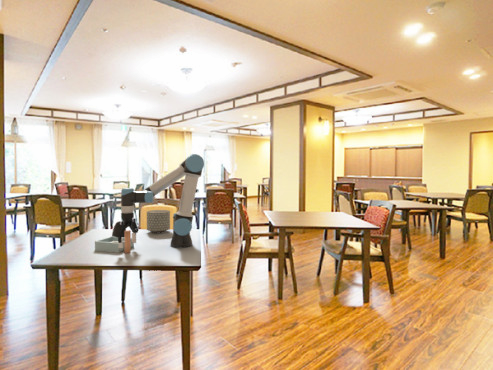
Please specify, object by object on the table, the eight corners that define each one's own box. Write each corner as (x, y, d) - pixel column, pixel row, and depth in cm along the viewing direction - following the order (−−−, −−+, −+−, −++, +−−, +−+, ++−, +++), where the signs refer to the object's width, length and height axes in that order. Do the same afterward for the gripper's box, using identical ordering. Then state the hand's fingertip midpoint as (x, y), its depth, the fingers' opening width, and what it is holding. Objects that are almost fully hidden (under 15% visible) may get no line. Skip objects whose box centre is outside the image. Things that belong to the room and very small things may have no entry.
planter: (164, 229, 272) (164, 209, 271) (173, 233, 257) (173, 211, 257) (143, 231, 260) (143, 210, 259) (152, 235, 245) (152, 213, 245)
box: (133, 246, 210) (133, 238, 210) (118, 252, 195) (118, 243, 194) (111, 244, 214) (111, 236, 214) (94, 250, 199) (94, 241, 199)
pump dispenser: (121, 244, 217) (121, 222, 216) (108, 243, 219) (108, 222, 218) (130, 240, 227) (130, 220, 226) (117, 240, 229) (117, 219, 228)
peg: (131, 252, 197) (131, 230, 196) (128, 253, 193) (128, 231, 192) (126, 251, 197) (126, 230, 197) (123, 253, 194) (123, 231, 193)
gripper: (134, 209, 207) (134, 240, 208) (109, 214, 183) (109, 249, 184) (143, 210, 205) (143, 241, 206) (120, 215, 181) (120, 250, 182)
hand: (127, 245), depth 195 cm, fingers open, 13 cm apart
